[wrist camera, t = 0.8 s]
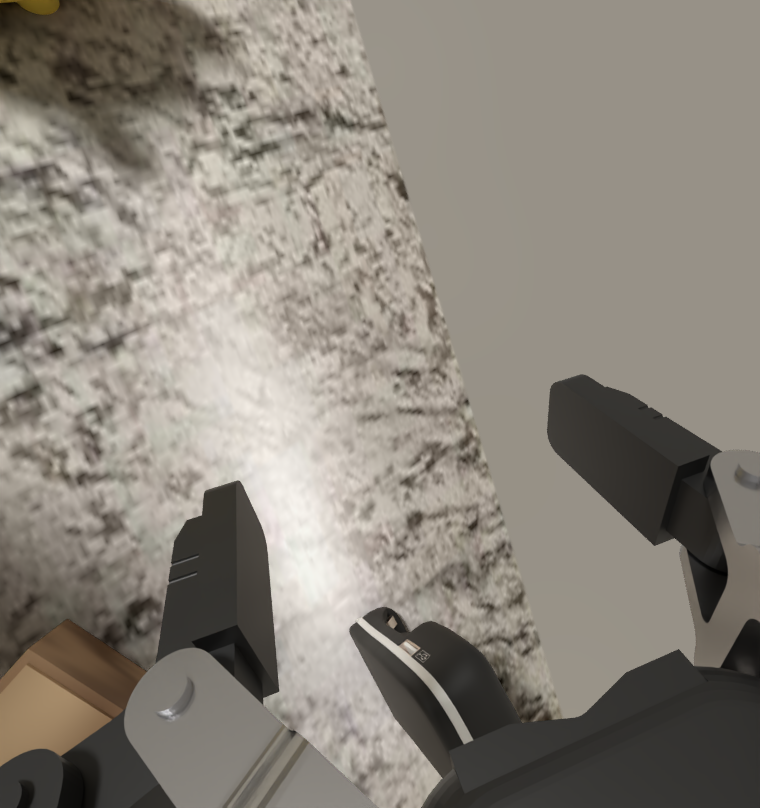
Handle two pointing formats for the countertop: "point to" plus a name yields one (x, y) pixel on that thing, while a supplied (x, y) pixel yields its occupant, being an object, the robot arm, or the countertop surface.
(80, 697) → the wooden box
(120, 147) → the countertop surface
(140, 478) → the countertop surface
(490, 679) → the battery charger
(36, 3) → the teapot
